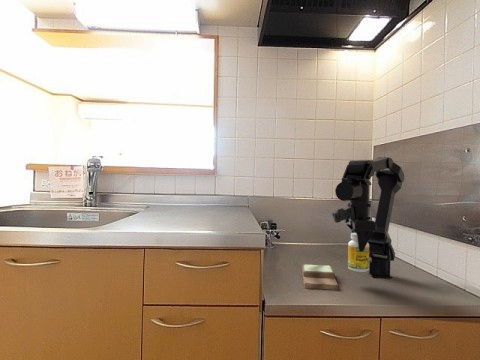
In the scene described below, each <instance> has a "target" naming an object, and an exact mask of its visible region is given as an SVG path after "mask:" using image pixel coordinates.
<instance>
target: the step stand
mask: <svg viewBox="0 0 480 360" xmlns="http://www.w3.org/2000/svg"><path fill="white" fill-rule="evenodd" d="M301 275H302V280H303V281H302V282H303V286H304V289H317V290H319V289H320V290H332V291H334V290H335V291H336V290H337V291H339V284H338V282H337V280H336V278H335V275H336V274H335V271H334V270H333V268H332V266H331V265H323V264H302V265H301Z"/></svg>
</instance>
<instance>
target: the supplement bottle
mask: <svg viewBox="0 0 480 360" xmlns="http://www.w3.org/2000/svg"><path fill="white" fill-rule="evenodd" d="M350 239H351V240H349V241H348V245H347V248H348V249H347V254H348V255H347V267H348V269H349V270H350V271H354V272H360V273H364V272H365V273H366V272H368V270H369V261H370V257H369V243H368V242H367V244H366V246H365V248H364V250H363V251H359V247H358V240H357V234H356V233H352V232H351V233H350Z"/></svg>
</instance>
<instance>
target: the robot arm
mask: <svg viewBox="0 0 480 360" xmlns="http://www.w3.org/2000/svg"><path fill="white" fill-rule="evenodd" d="M374 175H375V177H376V179H377V184H378V186H379V188H380V194H379V195H380V196H379V200H378V205H377V209H376V215H375V219H374V220H373V219H371V216H370V208H371V207H372V206H371V205H372V204H371V203H370V186H371V185H372V183H371V181H370V180H371V178H372V177H373V176H374ZM404 181H405V174H404V171H403V169H402V167H401V166H400V165H398V164H397V163H396V162H395V161H394V160H393V158H392V157H389V156H386V157H385V156H384V157H377V158H374V159H364V160H363V159H362V160H361V159H359V160H358V159H356V160H353V159H352V160H350V161H349V162H348V164H347V165H346V167H345V170H344V173H343V175H342V178H341V182H339V183H338V184H337V185H336V188H335V190H334V192H335V196H336V198H338V200H340V201H341V202H348V203H347V206H346V207H343V208H342V207H340V208H337V209H336V210H334V211H331V212H330V213H331V217H332V219H333V222H334V223H336V224H337V223H341V222H342V221H343V222H344V223H345V225H346V226H347V228H349V230H350V232H351V233H356V234H357V240H358V247H359V251H363V250H364V248H365V246H366V244H367V242H368V243H369V270H368V271H367V272H368V274H369V275H370V277H372V278H379V279H380V278H381V279H393V277H392V276H391V261H392V262H394V261H395V259H396V251H395V250H394V249H395V248H394V247H393V245H392V239H391V236H390V234H389V230H390V224H391V223H390V222H391V217H392V213H393V212H392V211H393V208H394V207H393V206H394V202H395V201H394V200H395V196H396V194H397V193H398V192H399V191H400V190H401V189H402V185H403V182H404Z"/></svg>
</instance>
